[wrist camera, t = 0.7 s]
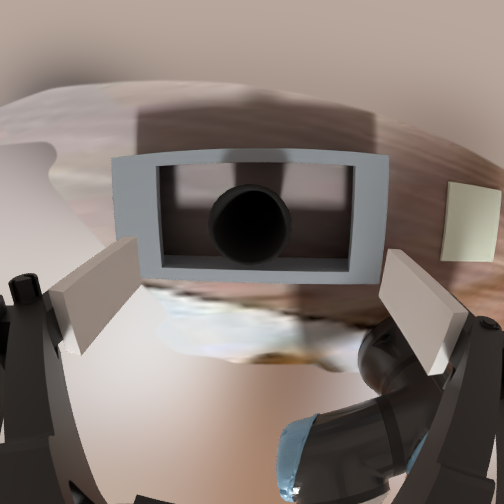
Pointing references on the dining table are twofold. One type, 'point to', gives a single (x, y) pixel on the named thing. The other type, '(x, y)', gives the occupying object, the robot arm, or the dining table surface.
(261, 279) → the slot box
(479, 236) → the mat
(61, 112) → the dining table surface
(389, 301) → the robot arm
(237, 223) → the cup
